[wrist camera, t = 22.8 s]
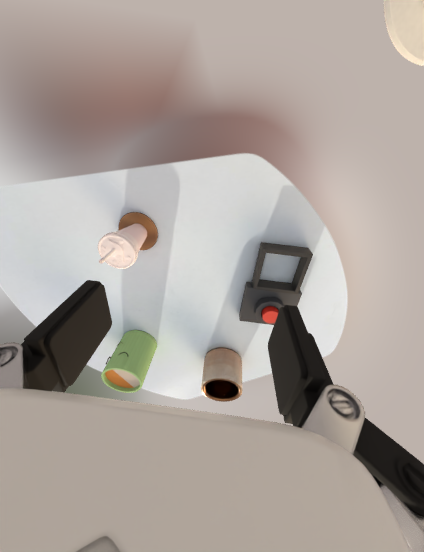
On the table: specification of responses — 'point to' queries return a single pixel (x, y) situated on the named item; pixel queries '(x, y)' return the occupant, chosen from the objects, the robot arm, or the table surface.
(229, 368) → the planter
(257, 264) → the frame
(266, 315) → the stop button
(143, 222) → the coaster
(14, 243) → the table surface
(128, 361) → the mug
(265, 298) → the button base
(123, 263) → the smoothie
